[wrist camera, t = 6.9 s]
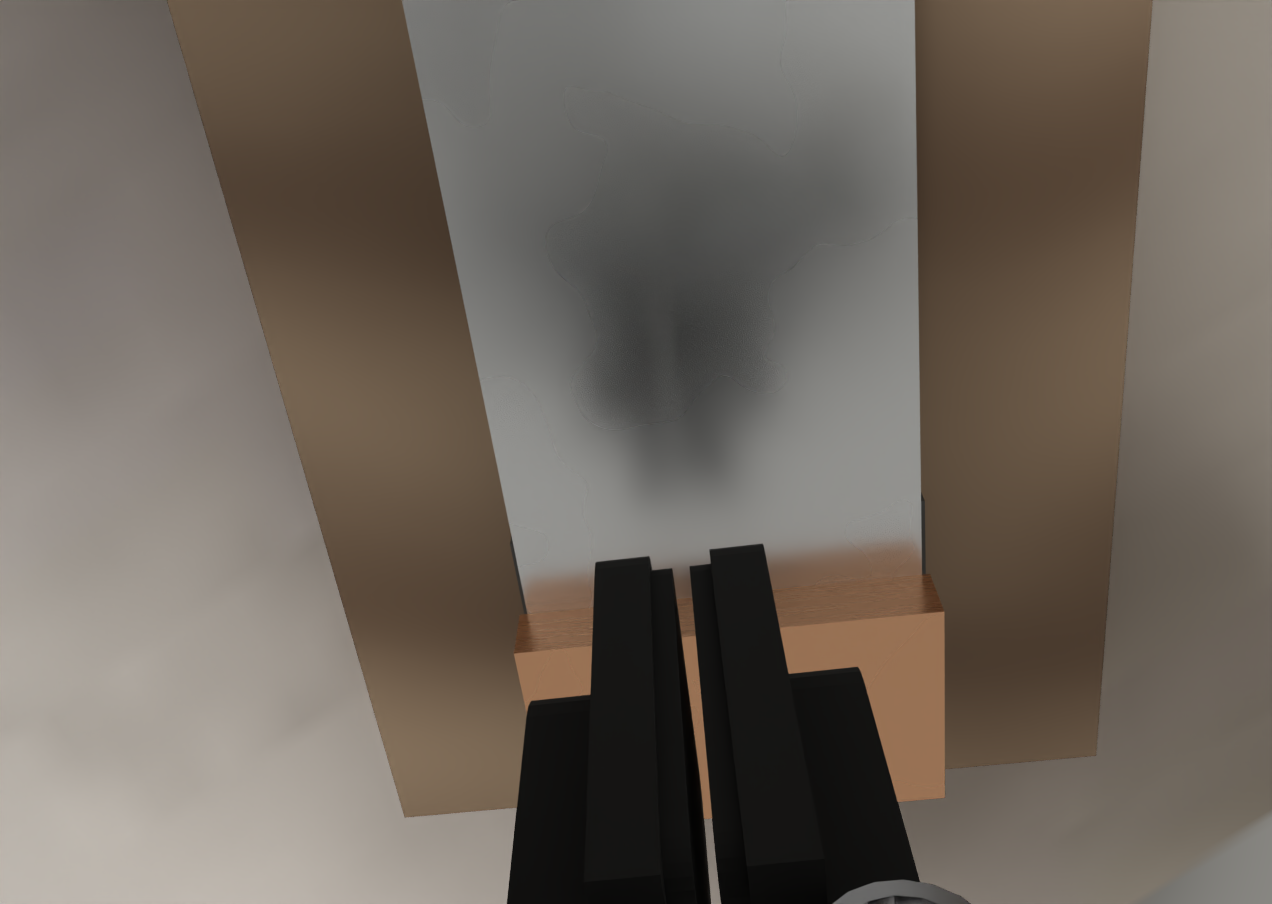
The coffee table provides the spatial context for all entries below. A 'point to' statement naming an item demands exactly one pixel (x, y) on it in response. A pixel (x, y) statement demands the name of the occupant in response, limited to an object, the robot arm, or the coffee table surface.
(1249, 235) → the coffee table surface
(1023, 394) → the latch base
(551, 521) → the latch lever
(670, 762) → the robot arm
